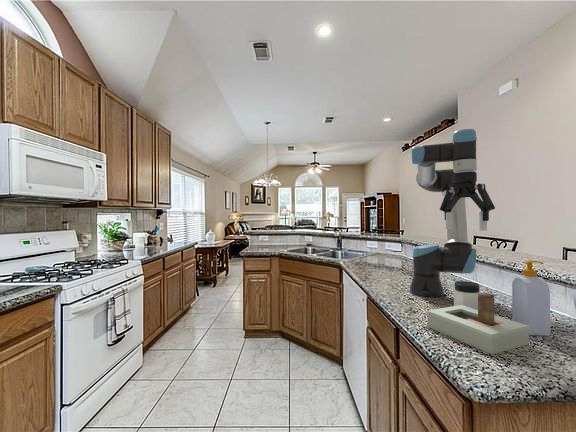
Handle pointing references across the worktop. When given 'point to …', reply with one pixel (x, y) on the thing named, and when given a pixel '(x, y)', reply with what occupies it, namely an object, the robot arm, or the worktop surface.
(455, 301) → the jar
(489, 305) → the bolt peg
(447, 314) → the keyhole box
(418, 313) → the worktop surface
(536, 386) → the worktop surface
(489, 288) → the worktop surface
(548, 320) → the soap bottle
